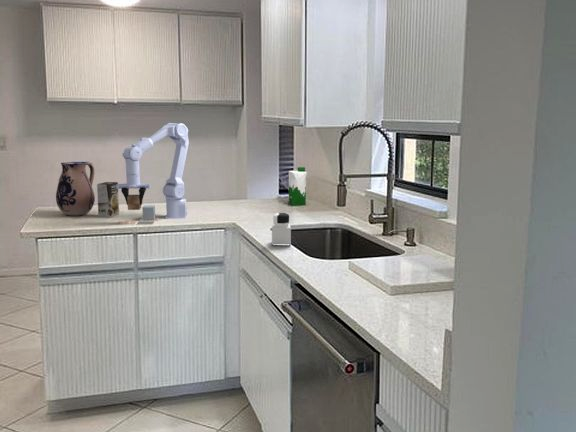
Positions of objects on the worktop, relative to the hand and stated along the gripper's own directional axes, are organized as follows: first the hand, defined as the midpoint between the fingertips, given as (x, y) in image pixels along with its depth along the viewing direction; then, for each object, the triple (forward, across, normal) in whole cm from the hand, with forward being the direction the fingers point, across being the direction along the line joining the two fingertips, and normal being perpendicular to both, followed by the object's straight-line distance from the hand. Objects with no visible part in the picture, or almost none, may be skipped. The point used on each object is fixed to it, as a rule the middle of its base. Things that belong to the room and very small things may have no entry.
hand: (134, 204), depth 263 cm
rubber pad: (+9, +5, -1) cm, 10 cm away
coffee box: (+9, -15, +17) cm, 24 cm away
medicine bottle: (+9, +62, -43) cm, 76 cm away
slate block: (+8, +5, +8) cm, 12 cm away
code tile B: (+9, +5, +8) cm, 13 cm away
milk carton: (+9, +78, +47) cm, 91 cm away
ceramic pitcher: (+9, -31, +25) cm, 41 cm away
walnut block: (+2, 0, 0) cm, 2 cm away
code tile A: (+8, -4, 0) cm, 9 cm away
